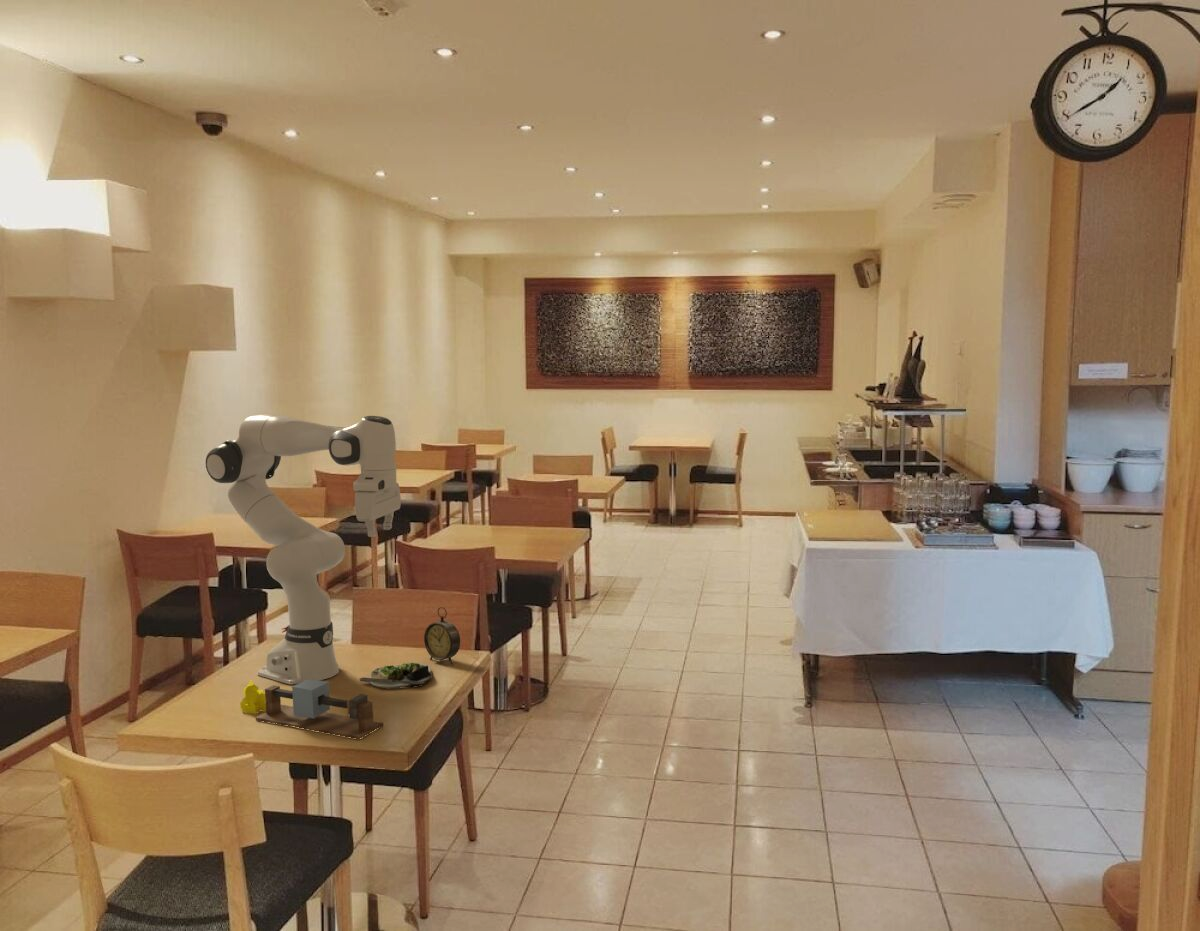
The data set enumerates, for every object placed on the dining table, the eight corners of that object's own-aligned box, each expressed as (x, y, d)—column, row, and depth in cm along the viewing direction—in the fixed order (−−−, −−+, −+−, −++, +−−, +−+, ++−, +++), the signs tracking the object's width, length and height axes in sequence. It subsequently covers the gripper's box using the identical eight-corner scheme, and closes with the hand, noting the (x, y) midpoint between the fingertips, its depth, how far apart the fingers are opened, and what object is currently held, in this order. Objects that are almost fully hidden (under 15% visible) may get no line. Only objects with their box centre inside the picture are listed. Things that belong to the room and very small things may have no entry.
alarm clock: (423, 660, 272) (421, 606, 270) (436, 655, 276) (435, 602, 274) (451, 667, 266) (449, 612, 264) (464, 662, 270) (462, 607, 268)
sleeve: (293, 714, 226) (292, 686, 225) (310, 706, 231) (309, 678, 230) (313, 718, 223) (312, 690, 222) (330, 709, 229) (328, 681, 228)
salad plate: (359, 696, 245) (358, 679, 245) (359, 673, 262) (359, 657, 262) (434, 689, 250) (433, 672, 249) (429, 667, 267) (429, 651, 267)
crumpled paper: (263, 715, 232) (261, 685, 231) (235, 712, 234) (233, 682, 233) (277, 706, 238) (275, 677, 237) (249, 703, 240) (248, 674, 239)
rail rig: (255, 720, 229) (254, 688, 228) (281, 707, 237) (280, 676, 236) (359, 740, 216) (358, 706, 215) (383, 725, 225) (381, 693, 224)
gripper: (383, 474, 250) (385, 524, 252) (349, 484, 230) (351, 540, 232) (406, 474, 249) (407, 525, 251) (373, 485, 229) (375, 541, 231)
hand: (380, 532), depth 241 cm, fingers open, 8 cm apart
